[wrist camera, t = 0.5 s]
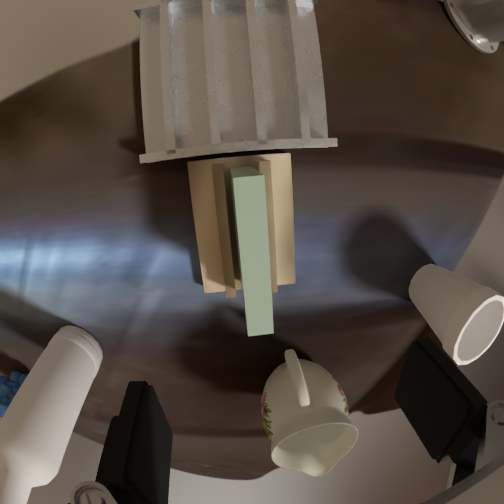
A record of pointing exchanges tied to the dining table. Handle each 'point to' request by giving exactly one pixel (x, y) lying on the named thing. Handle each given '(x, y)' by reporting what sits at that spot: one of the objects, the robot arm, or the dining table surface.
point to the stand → (223, 225)
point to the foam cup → (458, 311)
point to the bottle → (45, 413)
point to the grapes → (9, 389)
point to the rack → (230, 77)
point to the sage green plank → (253, 247)
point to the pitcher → (306, 417)
